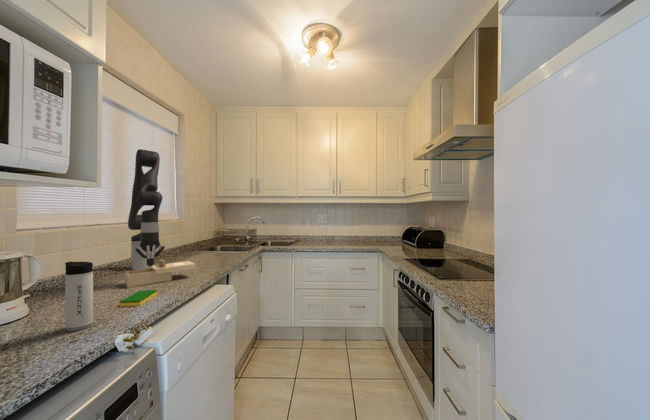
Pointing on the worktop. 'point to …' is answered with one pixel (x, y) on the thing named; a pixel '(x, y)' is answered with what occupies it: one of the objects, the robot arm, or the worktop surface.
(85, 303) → the travel mug
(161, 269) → the lid
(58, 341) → the worktop surface
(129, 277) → the box
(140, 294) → the dish sponge
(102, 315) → the worktop surface
